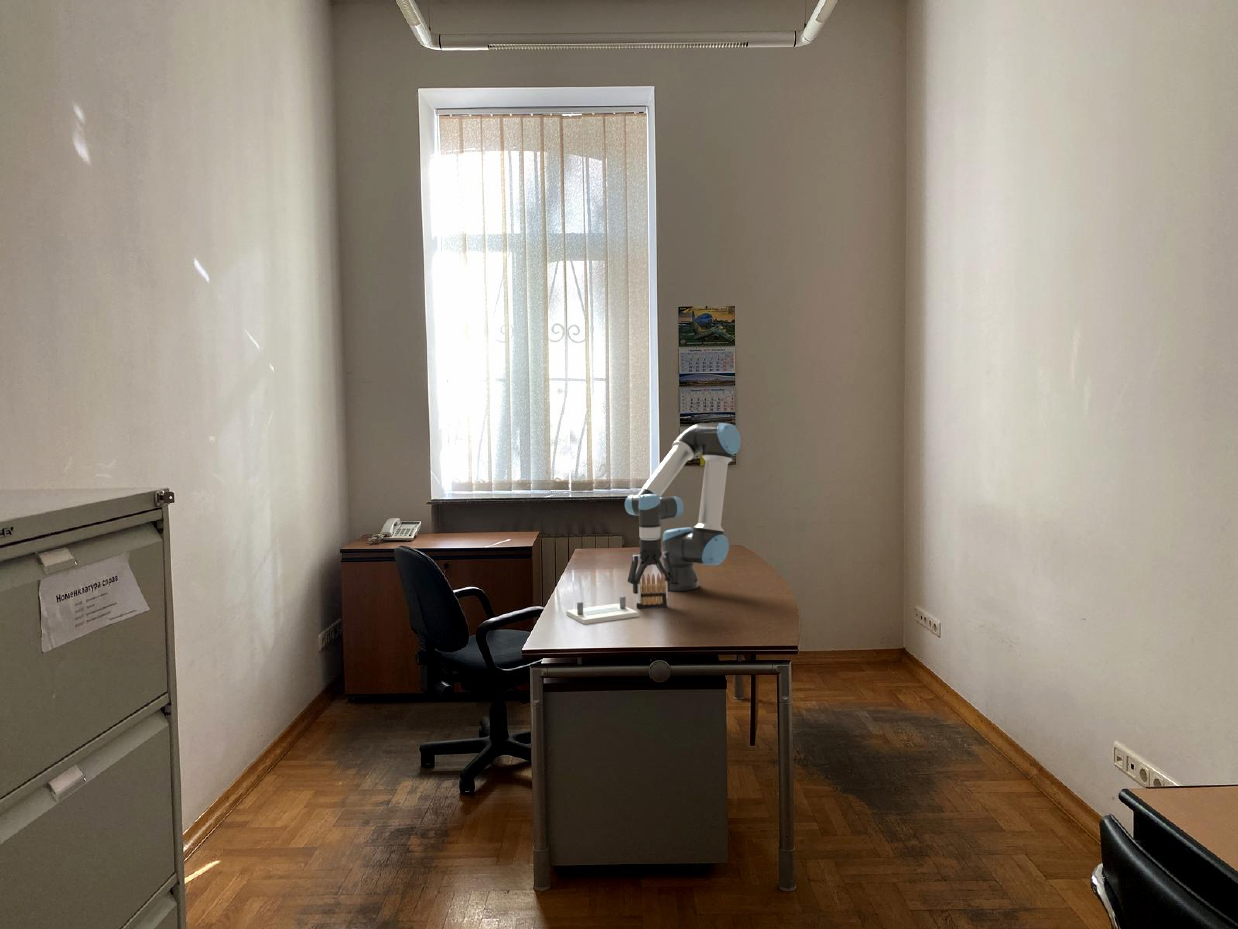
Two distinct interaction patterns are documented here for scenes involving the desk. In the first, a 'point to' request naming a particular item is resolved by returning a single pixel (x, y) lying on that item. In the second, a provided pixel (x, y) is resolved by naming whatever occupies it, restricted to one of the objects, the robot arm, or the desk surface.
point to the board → (602, 612)
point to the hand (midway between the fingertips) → (651, 600)
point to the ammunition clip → (652, 592)
